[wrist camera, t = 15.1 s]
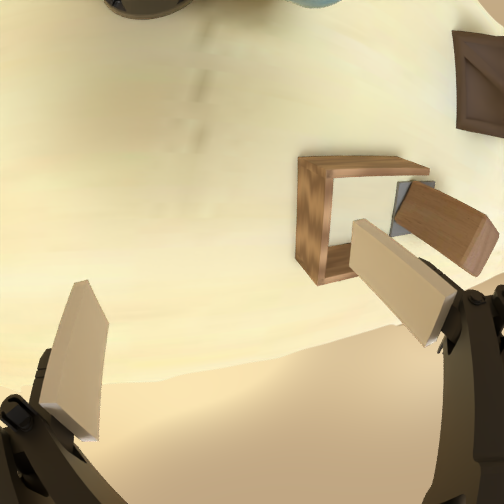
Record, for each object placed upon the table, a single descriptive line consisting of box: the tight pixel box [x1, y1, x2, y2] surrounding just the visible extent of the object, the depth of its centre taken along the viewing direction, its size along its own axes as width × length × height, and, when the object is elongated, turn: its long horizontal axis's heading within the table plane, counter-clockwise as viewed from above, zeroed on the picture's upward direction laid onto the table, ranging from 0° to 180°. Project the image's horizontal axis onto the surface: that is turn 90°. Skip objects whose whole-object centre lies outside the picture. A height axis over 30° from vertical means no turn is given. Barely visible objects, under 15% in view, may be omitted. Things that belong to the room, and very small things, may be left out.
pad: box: [389, 181, 435, 237], centre depth 55 cm, size 12×12×1 cm
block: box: [394, 181, 499, 277], centre depth 46 cm, size 10×10×20 cm
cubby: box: [295, 156, 430, 286], centre depth 46 cm, size 18×21×9 cm
